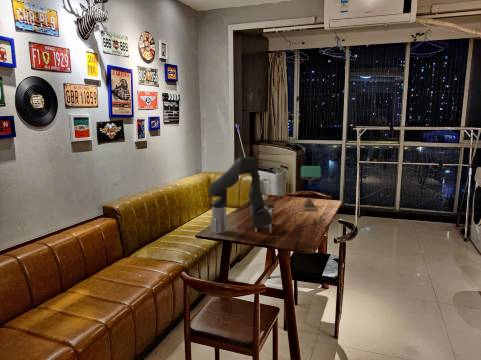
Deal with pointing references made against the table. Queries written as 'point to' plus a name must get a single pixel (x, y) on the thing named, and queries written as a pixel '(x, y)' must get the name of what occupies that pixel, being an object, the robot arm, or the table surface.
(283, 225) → the table surface
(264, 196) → the maple block
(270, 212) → the tunnel
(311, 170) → the banker's lamp
